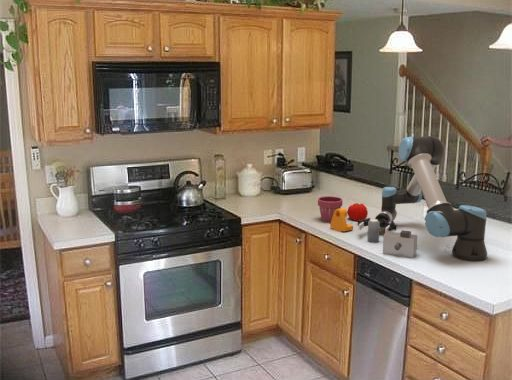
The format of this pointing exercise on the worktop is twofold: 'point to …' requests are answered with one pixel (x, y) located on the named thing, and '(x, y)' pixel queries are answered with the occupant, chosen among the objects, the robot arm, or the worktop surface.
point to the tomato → (357, 212)
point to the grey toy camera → (400, 243)
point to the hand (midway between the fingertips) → (372, 229)
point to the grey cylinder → (373, 230)
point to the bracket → (340, 220)
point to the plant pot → (328, 206)
